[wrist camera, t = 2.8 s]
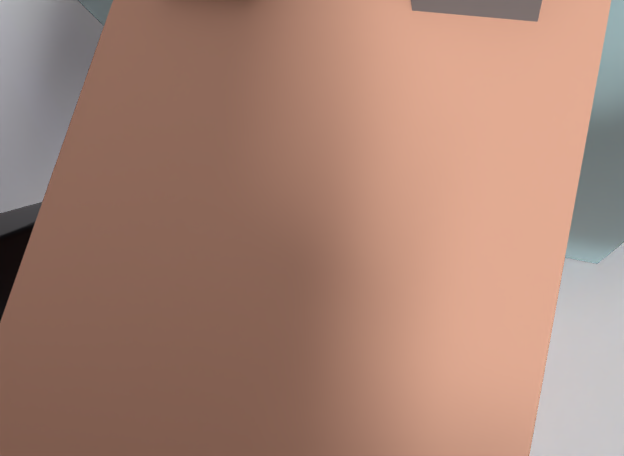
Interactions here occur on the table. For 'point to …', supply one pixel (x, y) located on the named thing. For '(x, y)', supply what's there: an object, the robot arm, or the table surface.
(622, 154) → the teal block
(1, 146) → the table surface
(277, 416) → the stub
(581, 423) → the table surface
